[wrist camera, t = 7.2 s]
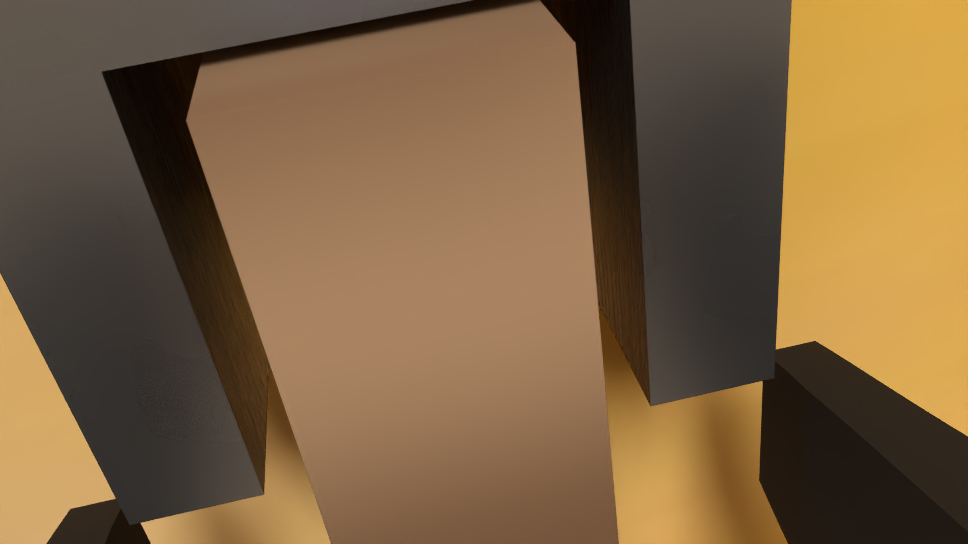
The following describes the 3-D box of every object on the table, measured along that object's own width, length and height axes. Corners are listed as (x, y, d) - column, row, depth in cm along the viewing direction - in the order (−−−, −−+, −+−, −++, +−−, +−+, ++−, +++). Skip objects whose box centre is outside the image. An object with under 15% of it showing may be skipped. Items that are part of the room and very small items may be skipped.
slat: (548, 528, 15) (644, 840, 11) (406, 561, 15) (450, 891, 11) (455, -102, 10) (574, 42, 6) (232, -61, 10) (185, 121, 5)
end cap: (638, 188, 12) (774, 378, 9) (178, 284, 11) (129, 524, 8) (615, -274, 9) (802, -260, 6) (1, -167, 9) (-183, -85, 5)
